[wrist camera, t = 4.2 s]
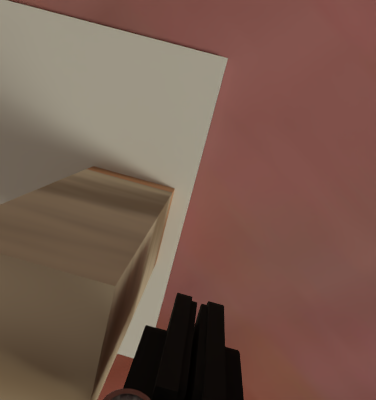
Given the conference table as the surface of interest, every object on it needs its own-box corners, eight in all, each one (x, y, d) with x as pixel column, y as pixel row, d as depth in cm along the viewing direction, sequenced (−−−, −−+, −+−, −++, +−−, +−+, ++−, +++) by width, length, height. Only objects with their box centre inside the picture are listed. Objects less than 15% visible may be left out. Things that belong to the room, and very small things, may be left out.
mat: (-105, -28, 18) (-116, -32, 17) (227, 60, 17) (227, 58, 17) (-104, 282, 23) (-112, 286, 23) (147, 355, 23) (146, 361, 22)
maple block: (93, 166, 19) (-71, 233, 8) (175, 188, 19) (114, 286, 8) (80, 241, 20) (-75, 382, 10) (156, 263, 20) (83, 429, 10)
